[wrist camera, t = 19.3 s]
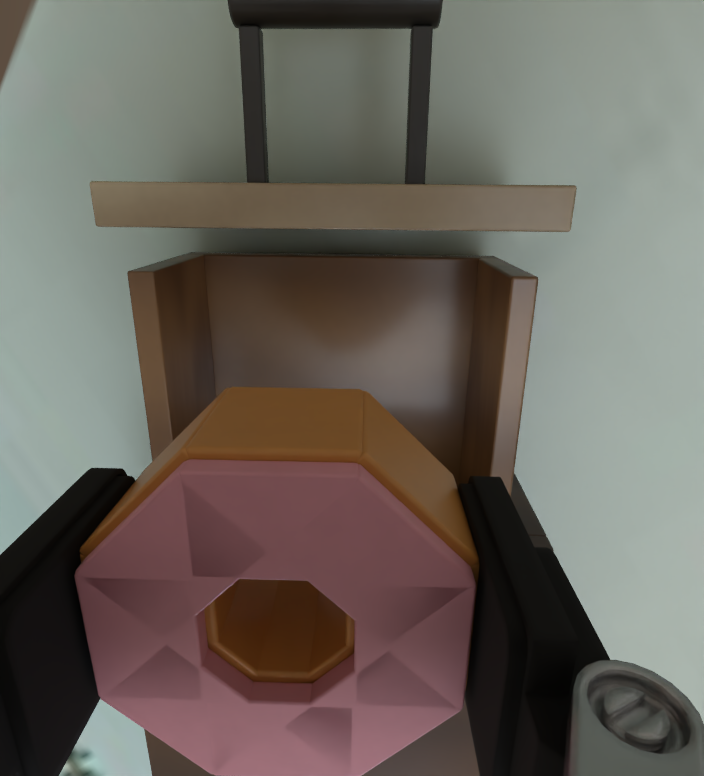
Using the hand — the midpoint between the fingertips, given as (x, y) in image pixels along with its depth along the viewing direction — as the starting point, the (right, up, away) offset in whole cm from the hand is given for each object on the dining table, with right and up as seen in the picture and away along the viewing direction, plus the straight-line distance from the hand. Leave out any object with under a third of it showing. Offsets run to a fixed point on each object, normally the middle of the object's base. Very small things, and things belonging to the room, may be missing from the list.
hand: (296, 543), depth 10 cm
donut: (0, 0, +1) cm, 1 cm away
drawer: (+1, +7, +11) cm, 13 cm away
